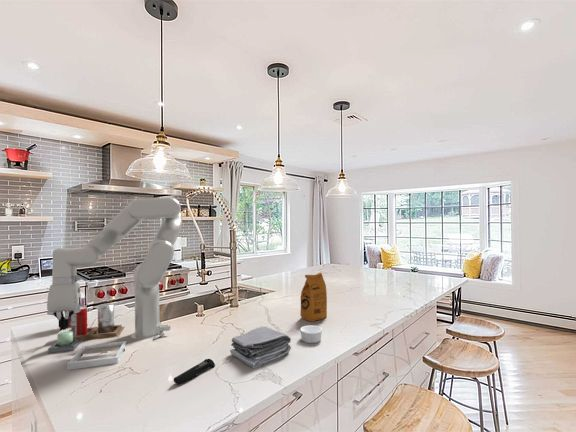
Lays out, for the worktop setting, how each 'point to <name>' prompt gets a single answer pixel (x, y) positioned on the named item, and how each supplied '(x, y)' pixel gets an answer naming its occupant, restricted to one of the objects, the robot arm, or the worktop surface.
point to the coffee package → (314, 298)
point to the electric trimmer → (194, 371)
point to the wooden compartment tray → (94, 335)
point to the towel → (260, 346)
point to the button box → (72, 347)
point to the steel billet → (106, 318)
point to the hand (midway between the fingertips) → (64, 328)
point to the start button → (65, 338)
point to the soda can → (79, 322)
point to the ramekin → (311, 334)
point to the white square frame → (96, 362)
